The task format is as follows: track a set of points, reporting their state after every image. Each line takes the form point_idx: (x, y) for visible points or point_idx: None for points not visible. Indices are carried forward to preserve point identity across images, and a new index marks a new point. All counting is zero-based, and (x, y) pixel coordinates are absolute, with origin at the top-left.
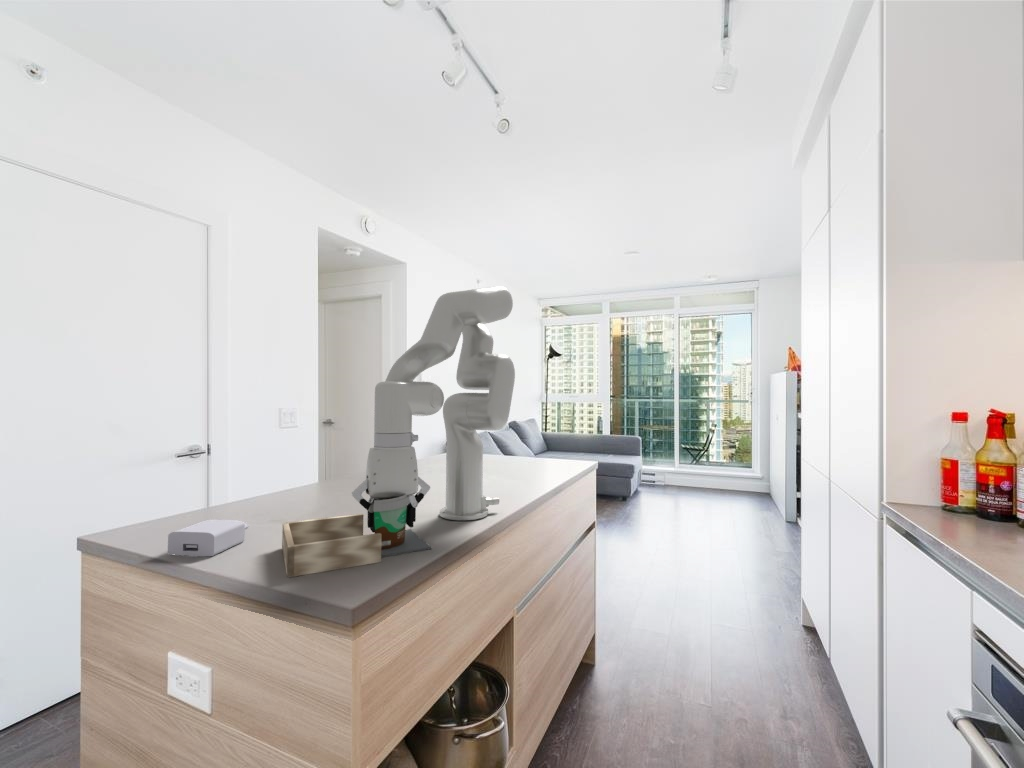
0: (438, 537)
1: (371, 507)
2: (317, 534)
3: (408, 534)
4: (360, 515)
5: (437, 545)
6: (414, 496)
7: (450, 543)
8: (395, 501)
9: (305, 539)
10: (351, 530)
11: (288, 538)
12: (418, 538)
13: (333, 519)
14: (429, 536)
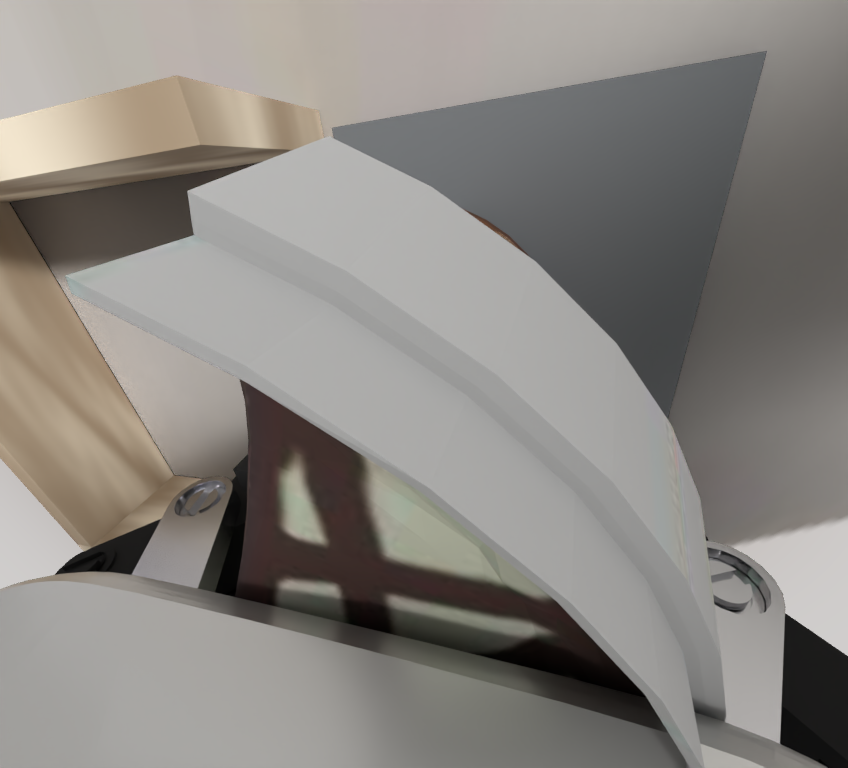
0: (835, 365)
1: (233, 587)
2: (42, 190)
3: (646, 248)
4: (177, 147)
5: (704, 484)
6: (799, 734)
7: (799, 494)
8: None
9: (21, 195)
10: (213, 161)
11: (27, 482)
12: (662, 370)
13: (3, 181)
14: (793, 313)
